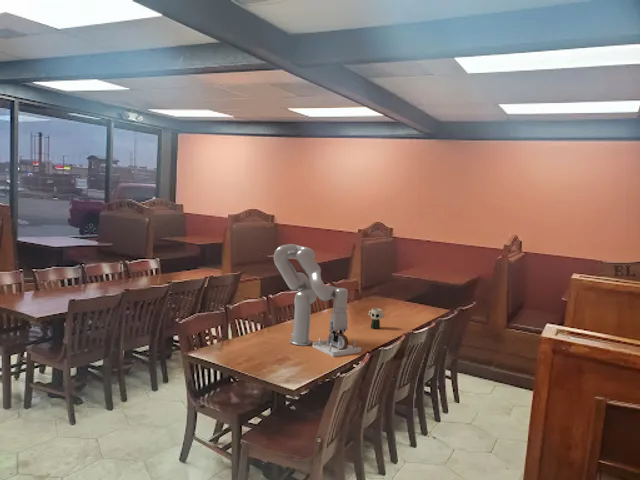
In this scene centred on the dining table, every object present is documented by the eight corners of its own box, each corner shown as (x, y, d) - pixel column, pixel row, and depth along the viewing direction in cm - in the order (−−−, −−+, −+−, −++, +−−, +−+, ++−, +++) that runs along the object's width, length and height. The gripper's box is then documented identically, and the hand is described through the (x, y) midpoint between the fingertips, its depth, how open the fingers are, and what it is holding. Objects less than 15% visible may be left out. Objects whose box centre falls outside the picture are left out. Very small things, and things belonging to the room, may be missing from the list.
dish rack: (312, 346, 298) (313, 336, 297) (339, 342, 310) (340, 332, 310) (332, 356, 283) (333, 345, 282) (360, 352, 295) (361, 341, 295)
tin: (347, 351, 291) (349, 336, 290) (343, 351, 289) (345, 336, 288) (330, 343, 302) (333, 329, 302) (326, 343, 300) (329, 329, 300)
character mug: (365, 327, 349) (367, 309, 348) (369, 325, 356) (370, 307, 354) (381, 330, 345) (383, 311, 344) (384, 328, 352) (386, 309, 350)
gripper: (346, 307, 302) (344, 337, 304) (324, 309, 292) (322, 341, 294) (355, 310, 296) (352, 341, 298) (332, 312, 286) (330, 344, 288)
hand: (337, 341), depth 296 cm, fingers closed on tin, 2 cm apart
